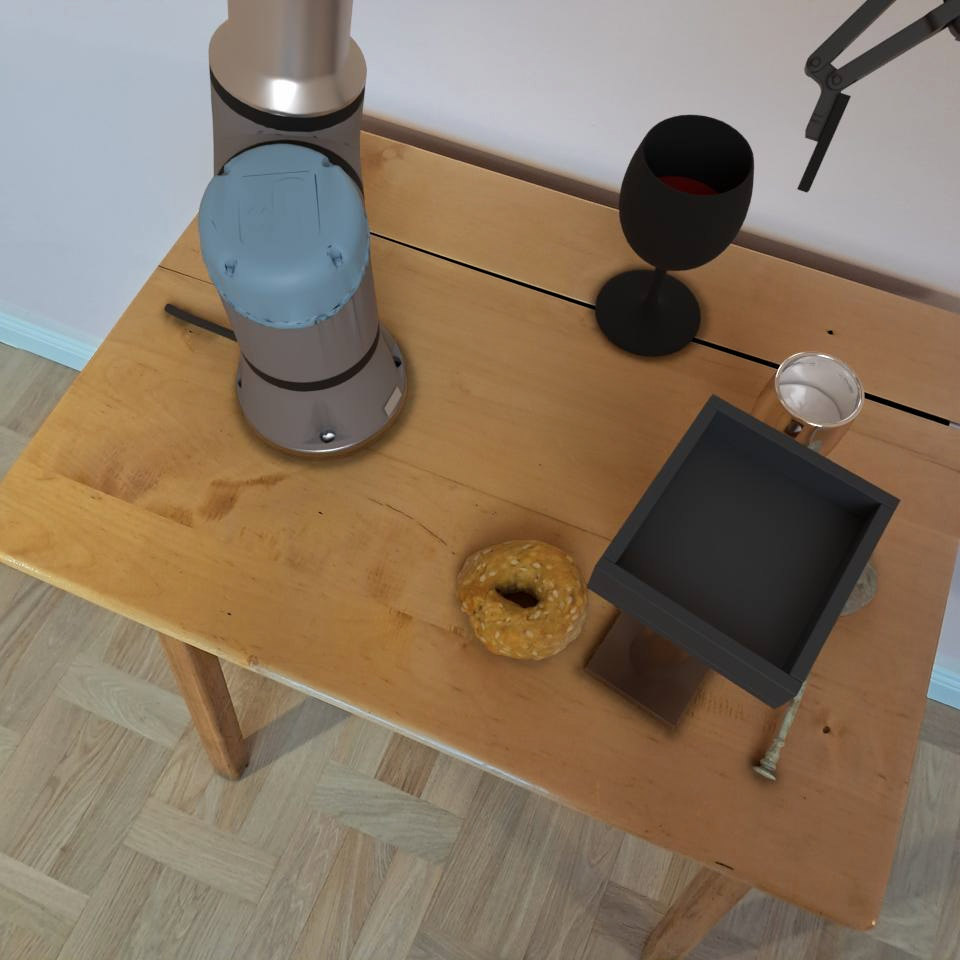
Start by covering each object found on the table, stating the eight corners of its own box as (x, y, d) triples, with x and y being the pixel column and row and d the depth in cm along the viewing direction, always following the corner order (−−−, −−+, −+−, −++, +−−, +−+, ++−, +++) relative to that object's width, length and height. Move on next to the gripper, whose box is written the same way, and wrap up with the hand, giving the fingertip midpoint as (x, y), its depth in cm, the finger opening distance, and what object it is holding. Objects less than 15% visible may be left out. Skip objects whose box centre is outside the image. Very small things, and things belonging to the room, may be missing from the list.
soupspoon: (880, 561, 75) (805, 529, 76) (896, 544, 72) (819, 511, 73) (800, 799, 65) (717, 756, 67) (815, 791, 62) (728, 746, 64)
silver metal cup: (794, 521, 75) (867, 437, 62) (714, 506, 76) (769, 419, 62) (797, 452, 78) (868, 357, 65) (720, 438, 79) (774, 341, 65)
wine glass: (700, 276, 87) (763, 112, 69) (701, 363, 82) (768, 211, 65) (596, 266, 87) (632, 100, 69) (591, 351, 83) (628, 198, 65)
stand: (583, 671, 69) (636, 570, 49) (634, 593, 72) (704, 467, 52) (671, 730, 67) (765, 652, 47) (719, 647, 70) (828, 539, 50)
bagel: (495, 523, 75) (498, 499, 70) (607, 591, 72) (616, 571, 68) (429, 616, 71) (428, 597, 67) (544, 691, 68) (550, 676, 64)
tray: (585, 587, 48) (594, 566, 45) (698, 421, 53) (712, 393, 50) (774, 710, 45) (796, 696, 42) (875, 523, 50) (901, 499, 47)
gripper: (1235, -39, 56) (1056, 279, 63) (855, -141, 60) (729, 168, 68) (1304, -78, 49) (1094, 285, 56) (868, -190, 53) (727, 160, 61)
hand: (895, 222), depth 62 cm, fingers open, 13 cm apart
